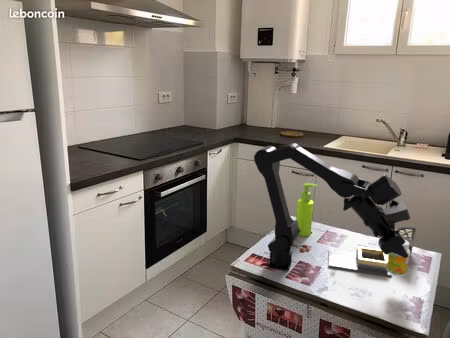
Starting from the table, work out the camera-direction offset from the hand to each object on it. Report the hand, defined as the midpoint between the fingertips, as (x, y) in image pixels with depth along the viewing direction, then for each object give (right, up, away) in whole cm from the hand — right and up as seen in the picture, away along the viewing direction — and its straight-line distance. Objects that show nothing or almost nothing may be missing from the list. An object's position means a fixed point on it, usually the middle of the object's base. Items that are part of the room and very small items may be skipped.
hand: (404, 251), depth 107 cm
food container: (+9, -7, +22) cm, 25 cm away
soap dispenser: (-20, -1, +39) cm, 44 cm away
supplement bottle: (-1, -6, +2) cm, 7 cm away
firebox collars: (-7, -8, +18) cm, 21 cm away
